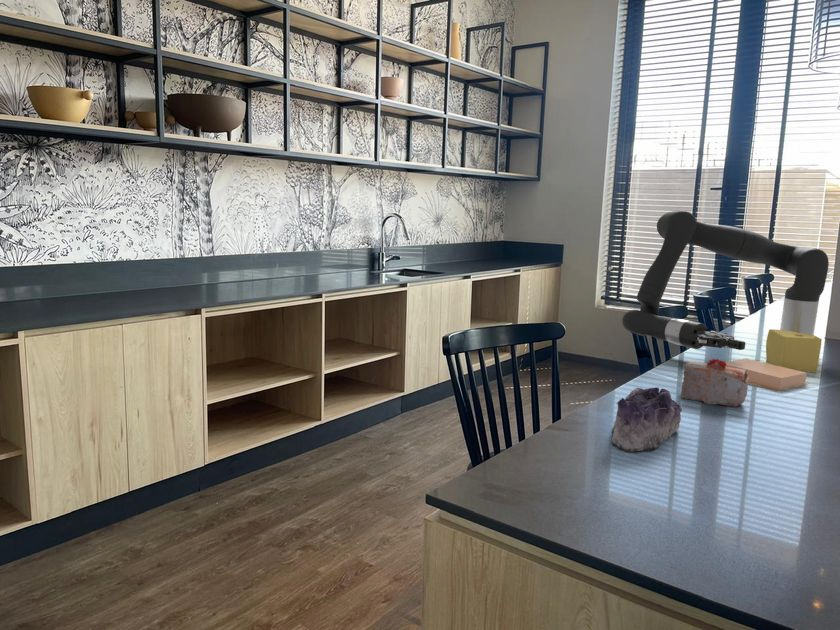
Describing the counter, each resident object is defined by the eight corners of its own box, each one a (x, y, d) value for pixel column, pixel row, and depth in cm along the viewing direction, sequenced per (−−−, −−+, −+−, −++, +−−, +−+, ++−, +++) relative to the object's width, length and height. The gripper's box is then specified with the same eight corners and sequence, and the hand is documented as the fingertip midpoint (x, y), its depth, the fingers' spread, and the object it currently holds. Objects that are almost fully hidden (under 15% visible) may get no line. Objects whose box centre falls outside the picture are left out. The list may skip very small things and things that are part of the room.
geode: (666, 463, 110) (663, 407, 108) (599, 455, 116) (596, 402, 115) (689, 426, 126) (687, 377, 125) (630, 421, 133) (627, 374, 131)
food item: (744, 402, 147) (750, 360, 145) (745, 411, 140) (751, 368, 138) (681, 392, 153) (686, 351, 151) (678, 400, 146) (683, 358, 144)
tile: (746, 358, 175) (806, 372, 162) (744, 369, 176) (805, 384, 163) (720, 362, 169) (781, 378, 156) (719, 373, 169) (779, 390, 156)
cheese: (800, 364, 187) (805, 330, 185) (818, 374, 177) (824, 338, 175) (763, 362, 188) (767, 328, 186) (779, 371, 177) (784, 336, 176)
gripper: (673, 321, 179) (731, 334, 165) (701, 319, 187) (759, 330, 172) (670, 347, 181) (727, 362, 167) (698, 344, 188) (755, 357, 174)
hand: (743, 346), depth 169 cm, fingers closed
